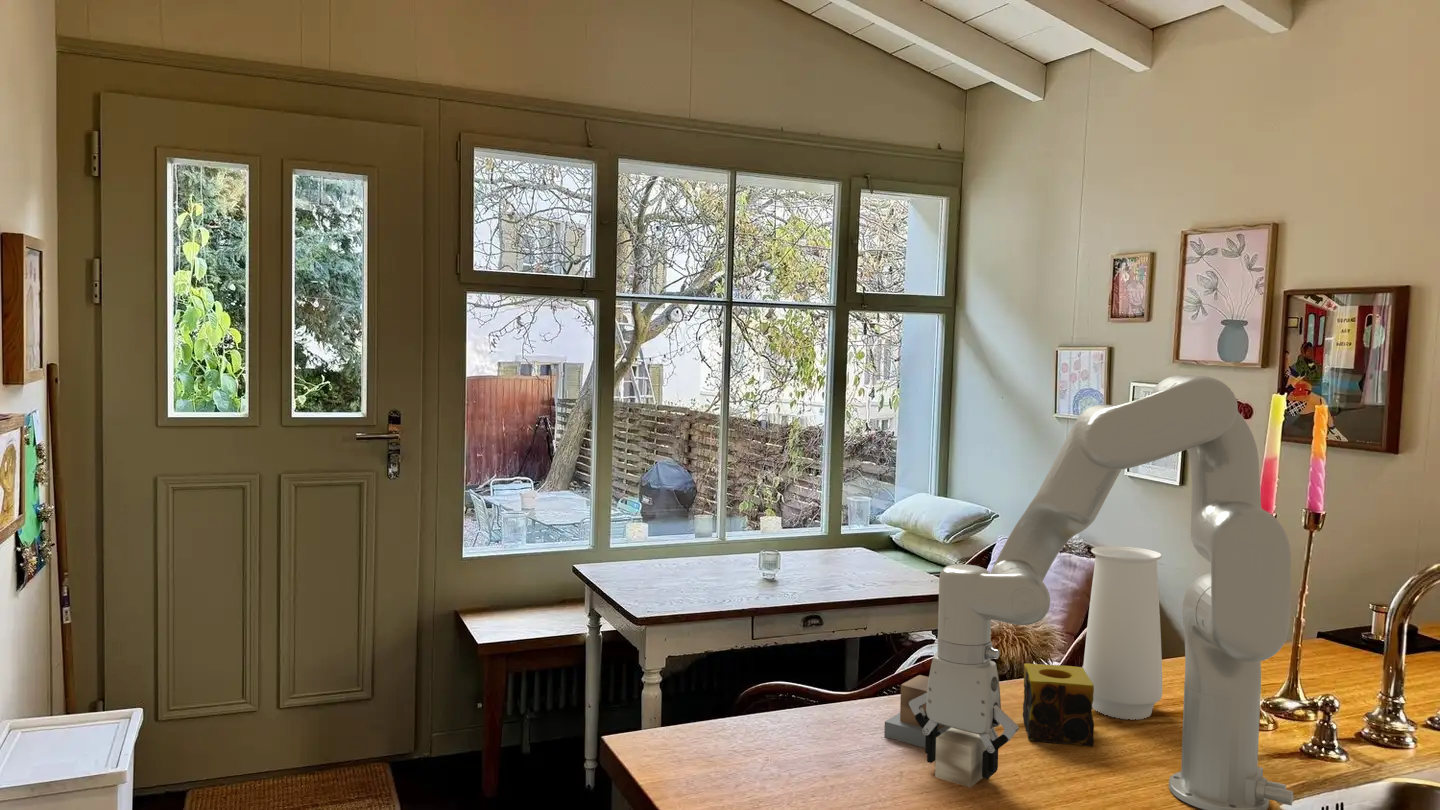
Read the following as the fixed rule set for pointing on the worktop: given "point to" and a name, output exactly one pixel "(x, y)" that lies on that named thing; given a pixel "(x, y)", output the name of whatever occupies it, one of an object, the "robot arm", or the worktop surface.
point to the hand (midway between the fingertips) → (960, 767)
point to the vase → (1124, 632)
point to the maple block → (959, 757)
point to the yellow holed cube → (1058, 704)
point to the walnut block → (909, 693)
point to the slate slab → (906, 731)
